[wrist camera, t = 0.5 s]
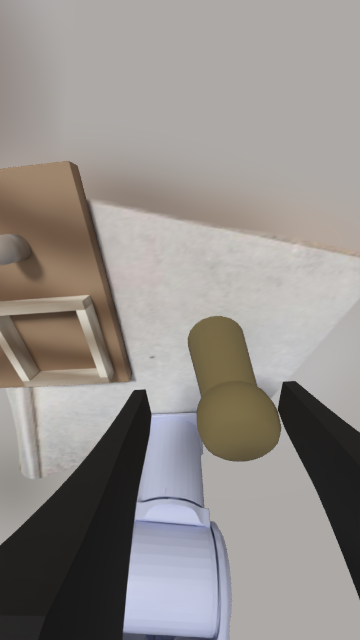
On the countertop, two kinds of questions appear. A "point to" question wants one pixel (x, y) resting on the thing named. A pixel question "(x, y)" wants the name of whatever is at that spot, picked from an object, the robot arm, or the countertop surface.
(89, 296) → the board
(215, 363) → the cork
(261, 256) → the countertop surface
